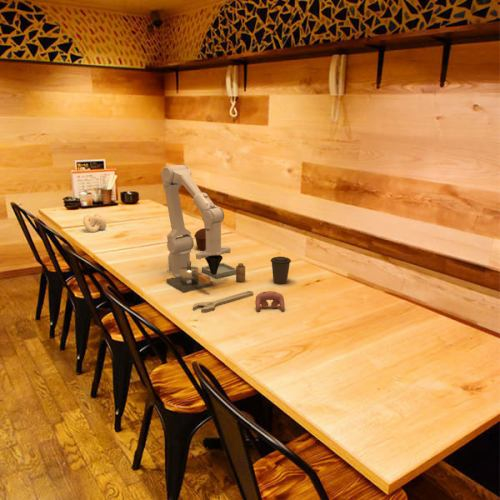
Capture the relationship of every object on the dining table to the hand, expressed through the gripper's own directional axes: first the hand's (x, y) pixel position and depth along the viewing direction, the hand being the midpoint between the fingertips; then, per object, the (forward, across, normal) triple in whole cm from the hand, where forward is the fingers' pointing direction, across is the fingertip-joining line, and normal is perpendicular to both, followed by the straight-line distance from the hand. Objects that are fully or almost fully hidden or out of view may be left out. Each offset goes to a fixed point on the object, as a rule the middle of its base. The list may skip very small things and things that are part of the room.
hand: (213, 273), depth 180 cm
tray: (+5, +10, +10) cm, 15 cm away
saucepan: (+3, -7, +2) cm, 8 cm away
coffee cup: (+5, +23, -12) cm, 27 cm away
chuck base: (+5, -7, +6) cm, 11 cm away
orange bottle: (+5, +11, -2) cm, 12 cm away
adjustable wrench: (+5, -6, -17) cm, 19 cm away
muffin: (+5, +25, +44) cm, 50 cm away
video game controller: (+5, +3, -30) cm, 31 cm away
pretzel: (+5, -5, +110) cm, 111 cm away
